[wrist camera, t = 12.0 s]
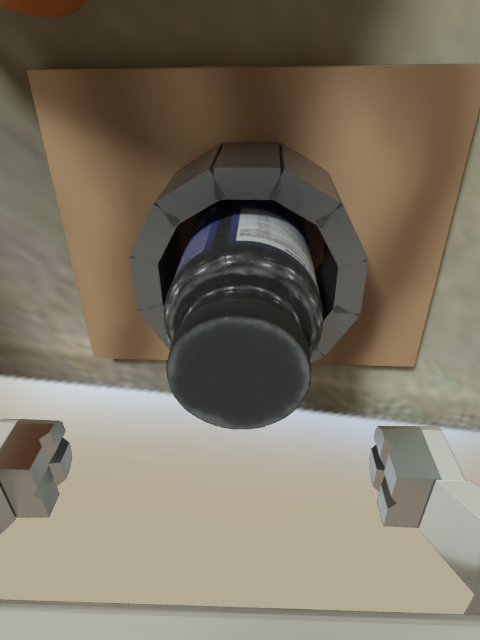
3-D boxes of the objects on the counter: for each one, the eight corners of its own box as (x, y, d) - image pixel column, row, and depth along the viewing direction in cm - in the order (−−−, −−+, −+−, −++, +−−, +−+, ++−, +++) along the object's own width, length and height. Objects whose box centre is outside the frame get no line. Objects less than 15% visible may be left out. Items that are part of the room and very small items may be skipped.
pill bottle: (218, 307, 26) (189, 460, 16) (172, 211, 23) (104, 330, 13) (322, 275, 24) (354, 423, 15) (287, 168, 21) (300, 268, 12)
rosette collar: (167, 320, 26) (147, 373, 22) (146, 141, 21) (114, 167, 17) (336, 323, 26) (350, 379, 22) (360, 141, 20) (383, 168, 16)
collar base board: (101, 344, 29) (94, 358, 28) (41, 68, 21) (26, 70, 20) (407, 351, 28) (414, 366, 27) (476, 63, 20) (490, 65, 18)
